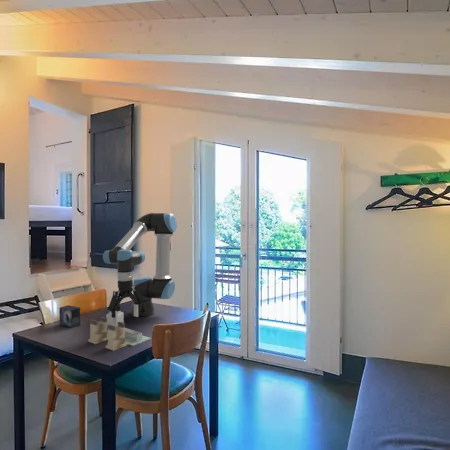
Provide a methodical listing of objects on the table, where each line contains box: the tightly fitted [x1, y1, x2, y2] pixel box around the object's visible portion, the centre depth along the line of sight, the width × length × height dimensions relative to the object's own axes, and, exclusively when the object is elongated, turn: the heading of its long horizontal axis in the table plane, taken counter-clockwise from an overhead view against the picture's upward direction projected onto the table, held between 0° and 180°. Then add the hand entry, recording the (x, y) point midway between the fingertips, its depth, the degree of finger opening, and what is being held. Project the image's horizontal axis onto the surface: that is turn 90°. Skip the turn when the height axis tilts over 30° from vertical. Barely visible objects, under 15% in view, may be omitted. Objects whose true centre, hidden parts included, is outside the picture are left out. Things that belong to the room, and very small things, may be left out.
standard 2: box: [105, 322, 128, 352], centre depth 170 cm, size 8×6×11 cm
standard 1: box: [87, 316, 108, 345], centre depth 178 cm, size 8×6×11 cm
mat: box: [107, 331, 152, 347], centre depth 183 cm, size 12×26×1 cm, turn 55°
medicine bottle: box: [105, 304, 125, 328], centre depth 202 cm, size 7×7×12 cm
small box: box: [58, 304, 81, 329], centre depth 201 cm, size 11×6×10 cm, turn 62°
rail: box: [113, 325, 143, 342], centre depth 183 cm, size 22×4×4 cm, turn 55°
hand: (125, 320), depth 183 cm, fingers open, 13 cm apart
